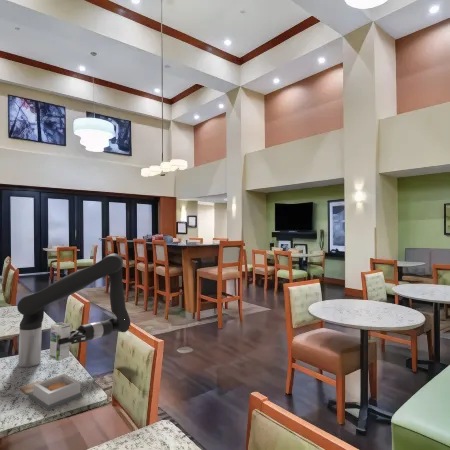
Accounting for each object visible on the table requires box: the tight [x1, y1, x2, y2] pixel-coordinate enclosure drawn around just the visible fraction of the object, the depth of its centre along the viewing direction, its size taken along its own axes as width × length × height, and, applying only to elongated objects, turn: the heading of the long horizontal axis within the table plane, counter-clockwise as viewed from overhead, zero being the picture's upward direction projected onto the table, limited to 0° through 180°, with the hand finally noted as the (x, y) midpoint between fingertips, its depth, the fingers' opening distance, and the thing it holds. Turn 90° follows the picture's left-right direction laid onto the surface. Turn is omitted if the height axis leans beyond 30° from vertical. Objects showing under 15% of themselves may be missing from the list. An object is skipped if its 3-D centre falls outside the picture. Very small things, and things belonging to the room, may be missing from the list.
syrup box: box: [49, 321, 71, 362], centre depth 142 cm, size 6×6×14 cm
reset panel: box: [27, 373, 84, 412], centre depth 127 cm, size 16×13×6 cm
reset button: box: [48, 382, 66, 391], centre depth 127 cm, size 6×6×2 cm
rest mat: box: [18, 380, 42, 396], centre depth 134 cm, size 8×8×1 cm
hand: (54, 340), depth 140 cm, fingers closed on syrup box, 6 cm apart
